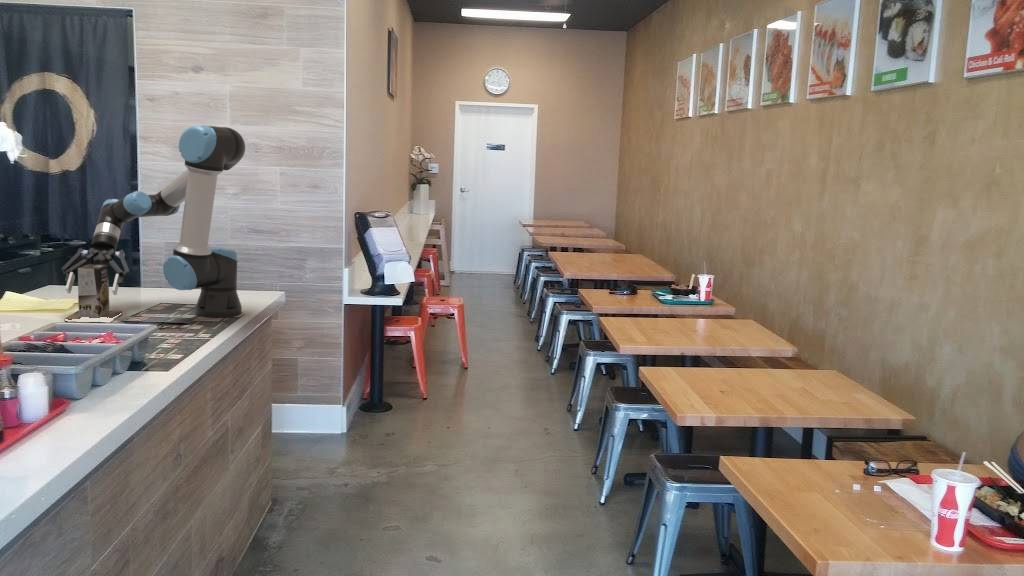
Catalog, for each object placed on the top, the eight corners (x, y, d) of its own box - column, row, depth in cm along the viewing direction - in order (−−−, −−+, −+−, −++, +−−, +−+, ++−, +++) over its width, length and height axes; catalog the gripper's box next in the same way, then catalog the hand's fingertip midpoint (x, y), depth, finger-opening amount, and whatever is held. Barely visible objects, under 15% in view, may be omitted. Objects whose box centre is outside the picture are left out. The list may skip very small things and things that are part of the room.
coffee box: (99, 318, 241) (98, 268, 238) (77, 317, 240) (76, 267, 237) (110, 312, 250) (109, 264, 247) (89, 311, 249) (88, 263, 246)
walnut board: (121, 314, 253) (121, 311, 253) (109, 323, 240) (109, 319, 240) (79, 313, 250) (79, 309, 250) (64, 322, 238) (64, 318, 238)
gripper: (147, 248, 259) (135, 299, 247) (68, 244, 254) (51, 297, 242) (143, 234, 253) (130, 286, 241) (61, 230, 248) (44, 283, 236)
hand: (91, 292), depth 242 cm, fingers open, 13 cm apart
